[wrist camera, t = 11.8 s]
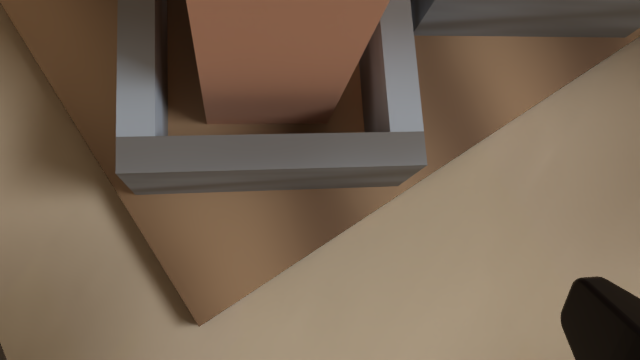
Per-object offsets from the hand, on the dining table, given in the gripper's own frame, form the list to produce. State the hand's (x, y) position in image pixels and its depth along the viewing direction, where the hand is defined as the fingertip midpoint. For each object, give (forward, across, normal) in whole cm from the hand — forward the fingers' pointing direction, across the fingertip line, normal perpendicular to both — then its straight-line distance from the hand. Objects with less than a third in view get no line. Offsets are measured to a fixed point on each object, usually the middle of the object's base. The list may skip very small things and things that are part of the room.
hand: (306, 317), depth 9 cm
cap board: (+15, -5, -1) cm, 16 cm away
